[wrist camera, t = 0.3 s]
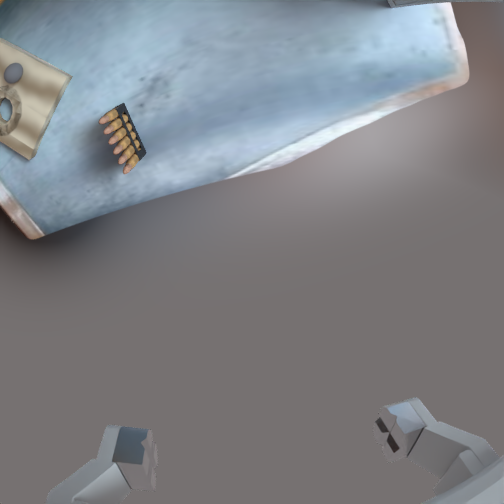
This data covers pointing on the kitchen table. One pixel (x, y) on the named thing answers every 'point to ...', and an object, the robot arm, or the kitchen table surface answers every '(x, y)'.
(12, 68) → the ball
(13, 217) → the kitchen table surface
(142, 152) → the ammunition clip
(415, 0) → the stool
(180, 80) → the kitchen table surface
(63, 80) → the board
